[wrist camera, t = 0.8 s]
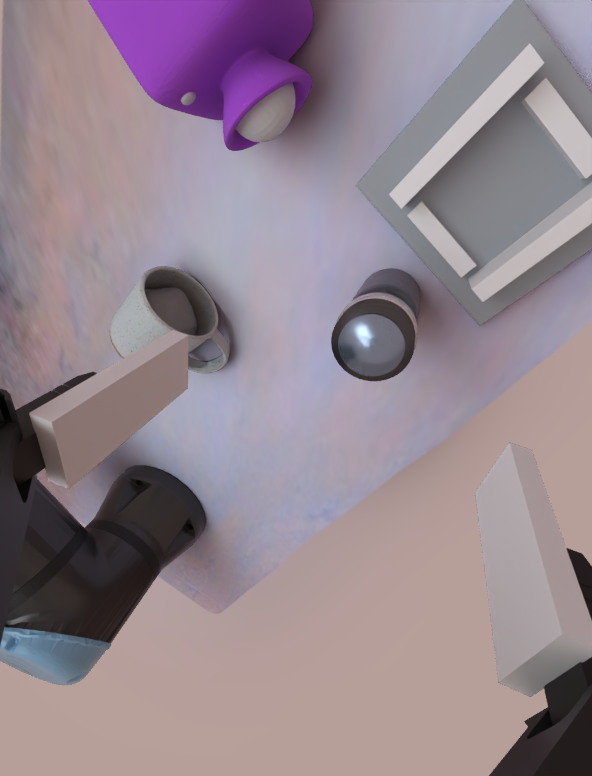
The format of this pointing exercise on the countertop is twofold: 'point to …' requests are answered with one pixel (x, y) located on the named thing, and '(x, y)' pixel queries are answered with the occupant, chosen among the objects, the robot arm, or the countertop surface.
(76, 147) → the countertop surface
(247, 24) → the toy camera
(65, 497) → the countertop surface
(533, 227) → the mount
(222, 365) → the ceramic mug
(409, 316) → the lens
